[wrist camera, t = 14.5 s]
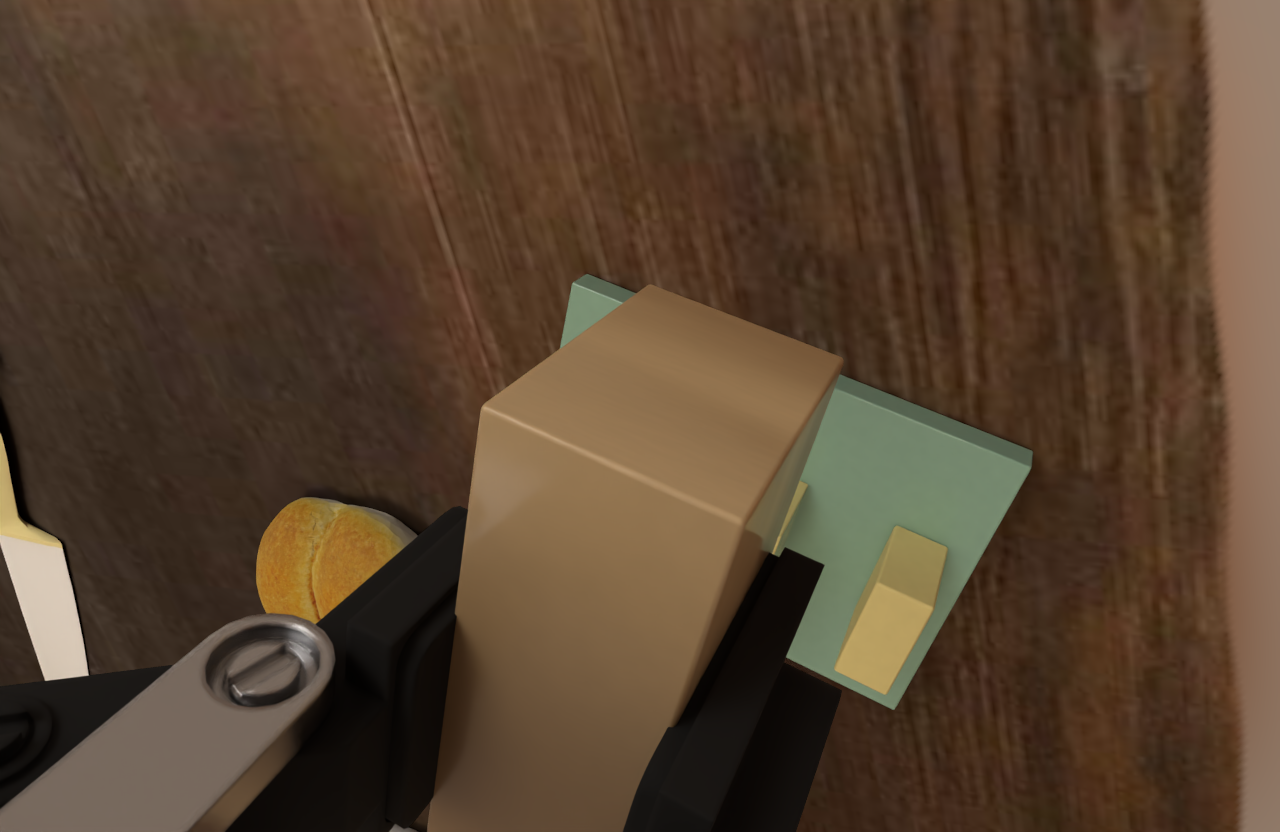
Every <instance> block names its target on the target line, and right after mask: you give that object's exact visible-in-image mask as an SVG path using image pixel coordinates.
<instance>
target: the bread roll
mask: <svg viewBox="0 0 1280 832" xmlns="http://www.w3.org/2000/svg"><path fill="white" fill-rule="evenodd" d="M417 536H418V535H416V534H415V533H414V532H413V531H412V530H411V529H410V528H408V527H407V526H405V525H404V524H403V523H402V522H401V521H399V520H398V519H396V518H395V517H393V516H391V515H389V514H387V513H385V512H381V511H378V510H375V509H372V508H367V507H360V506H356V505H346V504H343V503H341V502H339V501H335V500H330V499H320V498H313V497H306V498H300V499H298V500H296V501H294V502H292V503H290V504H289V505H287V506H286V507H285V508H284V509H283V510H282V511H280V513H279V514H278V515H277V516H276V517H275V519H274V520H273V521H272V523H271V524H270V525H269V527H268V528H267V530H266V531H265V532H264V535H263V537H262V539H261V543H260V546H259V551H258V556H257V569H256V582H257V587H258V592H259V596H260V598H261V601H262V604H263V607H264V609H265V611H266V613H267V614H268V613H276V614H289V615H294V616H297V617H300V618H303V619H306V620H309V621H311V622H312V623H314V624H316V623H317V622H319V621H320V620H321V619H322V618H323V617H324V616H326V615H327V614H328V613H329V612H330V611H331V610H332V609H334V608H335V607H336V606H337V605H338V604H339V603H341V602H342V601H343V600H344V599H345V598H346V597H348V596H349V595H350V594H351V593H352V592H353V591H355V590H356V589H357V588H358V587H359V586H360V585H362V584H363V583H364V582H365V581H366V580H367V579H368V578H370V577H371V576H372V575H373V574H374V573H375V572H377V571H378V570H379V569H380V568H381V567H382V566H384V565H385V564H386V563H387V562H388V561H389V560H391V559H392V558H393V557H394V556H395V555H396V554H398V553H399V552H400V551H401V550H402V549H403V548H404V547H406V546H407V545H408V544H409V543H410V542H411V541H413V540H414V539H415V538H416V537H417Z"/></svg>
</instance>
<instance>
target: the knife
mask: <svg viewBox="0 0 1280 832" xmlns="http://www.w3.org/2000/svg"><path fill="white" fill-rule="evenodd" d="M0 544H1V548H2V551H3V554H4V557H5V560H6V563H7V566H8V569H9V572H10V575H11V578H12V582H13V585H14V588H15V591H16V594H17V597H18V600H19V603H20V607H21V610H22V613H23V616H24V619H25V622H26V625H27V628H28V631H29V634H30V637H31V640H32V643H33V646H34V649H35V652H36V655H37V658H38V661H39V664H40V667H41V670H42V673H43V675H44V678H45V681H48V680H56V679H64V678H72V677H80V676H88V675H89V673H88V667H87V661H86V654H85V648H84V641H83V636H82V631H81V627H80V622H79V617H78V612H77V607H76V602H75V597H74V592H73V588H72V584H71V580H70V576H69V572H68V568H67V564H66V560H65V556H64V552H63V548H62V544H61V542H60V541H59V540H58V539H57V538H56V537H54V536H52V535H50V534H48V533H46V532H44V531H42V530H40V529H39V528H37V527H35V526H33V525H31V524H29V523H27V522H25V521H24V520H23V519H22V518H21V517H20V515H19V514H18V510H17V506H16V501H15V496H14V491H13V486H12V482H11V477H10V471H9V465H8V459H7V455H6V451H5V447H4V442H3V438H2V436H1V433H0Z"/></svg>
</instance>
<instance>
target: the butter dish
mask: <svg viewBox="0 0 1280 832" xmlns="http://www.w3.org/2000/svg"><path fill="white" fill-rule="evenodd" d="M635 294H636V293H634V292H632V291H629V290H627V289H624V288H622V287H619V286H616V285H614V284H611V283H609V282H606V281H604V280H601V279H599V278H596V277H594V276H591V275H589V274H586V275H584V276H582V277H581V278H579V279H578V280H576V281H574V282H573V283H572V287H571V292H570V298H569V303H568V308H567V314H566V319H565V324H564V330H563V335H562V340H561V346H560V348H562V347H563V346H565V345H566V344H567V343H569V342H570V341H571V340H573V339H574V338H576V337H577V336H578V335H580V334H581V333H582V332H584V331H585V330H587V329H588V328H589V327H591V326H592V325H593V324H595V323H596V322H598V321H599V320H600V319H602V318H603V317H604V316H606V315H607V314H609V313H610V312H611V311H613V310H614V309H616V308H617V307H618V306H620V305H621V304H622V303H624V302H625V301H627V300H628V299H629V298H631V297H632V296H633V295H635ZM1032 458H1033V451H1031V450H1029V449H1026V448H1024V447H1021V446H1019V445H1016V444H1014V443H1011V442H1009V441H1006V440H1004V439H1001V438H999V437H996V436H994V435H991V434H989V433H986V432H983V431H981V430H978V429H976V428H973V427H971V426H968V425H966V424H963V423H961V422H958V421H956V420H953V419H951V418H948V417H946V416H943V415H941V414H938V413H936V412H933V411H931V410H928V409H926V408H923V407H921V406H918V405H916V404H913V403H911V402H908V401H906V400H903V399H901V398H898V397H896V396H893V395H890V394H888V393H885V392H883V391H880V390H878V389H875V388H873V387H870V386H868V385H865V384H863V383H860V382H858V381H855V380H853V379H850V378H848V377H845V376H843V375H839V377H838V380H837V383H836V385H835V388H834V391H833V393H832V396H831V399H830V401H829V404H828V407H827V409H826V412H825V415H824V417H823V420H822V423H821V425H820V428H819V430H818V433H817V436H816V438H815V441H814V444H813V446H812V449H811V452H810V454H809V457H808V460H807V462H806V465H805V468H804V470H803V473H802V476H801V478H800V481H799V484H798V486H797V489H796V491H795V494H794V497H793V499H792V502H791V505H790V507H789V510H788V513H787V515H786V518H785V521H784V523H783V526H782V529H781V531H780V534H779V537H778V539H777V542H776V545H775V547H774V550H773V552H772V554H774V555H776V556H778V557H780V555H781V553H782V551H783V549H784V548H785V547H786V548H788V549H791V550H793V551H795V552H797V553H800V554H802V555H804V556H806V557H809V558H811V559H813V560H815V561H817V562H820V563H822V564H824V565H825V566H824V568H823V571H822V573H821V576H820V578H819V580H818V583H817V585H816V587H815V590H814V592H813V594H812V597H811V599H810V602H809V604H808V606H807V609H806V611H805V613H804V616H803V618H802V620H801V623H800V625H799V628H798V630H797V632H796V635H795V637H794V639H793V642H792V644H791V646H790V649H789V651H788V654H787V656H786V658H788V659H790V660H793V661H795V662H797V663H799V664H801V665H803V666H805V667H807V668H809V669H811V670H813V671H815V672H817V673H819V674H821V675H823V676H825V677H827V678H829V679H831V680H833V681H835V682H837V683H839V684H841V685H843V686H845V687H848V688H850V689H852V690H854V691H856V692H858V693H860V694H862V695H864V696H866V697H868V698H870V699H872V700H874V701H876V702H878V703H880V704H882V705H884V706H886V707H888V708H890V709H892V710H895V708H896V706H897V705H898V703H899V701H900V699H901V698H902V696H903V694H904V692H905V691H906V689H907V687H908V685H909V684H910V682H911V680H912V678H913V676H914V675H915V673H916V671H917V669H918V668H919V666H920V664H921V662H922V661H923V659H924V657H925V655H926V654H927V652H928V650H929V648H930V646H931V645H932V643H933V641H934V639H935V638H936V636H937V634H938V632H939V631H940V629H941V627H942V625H943V624H944V622H945V620H946V618H947V616H948V615H949V613H950V611H951V609H952V608H953V606H954V604H955V602H956V601H957V599H958V597H959V595H960V594H961V592H962V590H963V588H964V587H965V585H966V583H967V581H968V579H969V578H970V576H971V574H972V572H973V571H974V569H975V567H976V565H977V564H978V562H979V560H980V558H981V557H982V555H983V553H984V551H985V549H986V548H987V546H988V544H989V542H990V541H991V539H992V537H993V535H994V534H995V532H996V530H997V528H998V527H999V525H1000V523H1001V521H1002V519H1003V518H1004V516H1005V514H1006V512H1007V511H1008V509H1009V507H1010V505H1011V504H1012V502H1013V500H1014V498H1015V497H1016V495H1017V493H1018V491H1019V489H1020V488H1021V486H1022V484H1023V482H1024V481H1025V479H1026V477H1027V475H1028V474H1029V472H1030V470H1031V468H1032ZM895 526H900V527H902V528H904V529H907V530H909V531H911V532H914V533H916V534H918V535H920V536H923V537H925V538H927V539H930V540H932V541H934V542H936V543H939V544H941V545H943V546H946V547H947V548H948V552H947V556H946V561H945V565H944V570H943V574H942V578H941V583H940V587H939V591H938V596H937V600H936V605H935V609H934V611H933V613H932V615H931V617H930V618H929V620H928V622H927V624H926V626H925V627H924V629H923V631H922V633H921V635H920V636H919V638H918V640H917V642H916V644H915V645H914V647H913V649H912V651H911V653H910V654H909V656H908V658H907V660H906V662H905V663H904V665H903V667H902V669H901V671H900V672H899V674H898V676H897V678H896V680H895V681H894V683H893V685H892V687H891V689H890V690H889V692H888V693H887V694H886V695H884V694H882V693H880V692H877V691H875V690H873V689H871V688H869V687H867V686H865V685H863V684H861V683H859V682H857V681H855V680H853V679H851V678H849V677H847V676H845V675H843V674H841V673H839V672H837V671H835V670H834V666H835V663H836V660H837V657H838V655H839V652H840V649H841V646H842V643H843V640H844V638H845V635H846V632H847V629H848V626H849V623H850V621H851V618H852V615H853V612H854V609H855V607H856V605H857V603H858V601H859V599H860V596H861V594H862V592H863V590H864V588H865V586H866V584H867V582H868V580H869V578H870V576H871V574H872V572H873V570H874V568H875V566H876V564H877V562H878V560H879V557H880V555H881V553H882V551H883V549H884V547H885V545H886V543H887V541H888V539H889V537H890V535H891V533H892V531H893V529H894V527H895Z"/></svg>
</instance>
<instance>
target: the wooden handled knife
mask: <svg viewBox="0 0 1280 832" xmlns="http://www.w3.org/2000/svg"><path fill="white" fill-rule="evenodd" d="M843 364H844V360H843V358H841V357H839V356H837V355H834V354H832V353H829V352H826V351H824V350H821V349H818V348H816V347H813V346H811V345H808V344H805V343H803V342H800V341H797V340H795V339H792V338H790V337H787V336H784V335H782V334H779V333H776V332H774V331H771V330H769V329H766V328H763V327H761V326H758V325H756V324H753V323H750V322H748V321H745V320H742V319H740V318H737V317H735V316H732V315H729V314H727V313H724V312H721V311H719V310H716V309H714V308H711V307H708V306H706V305H703V304H700V303H698V302H695V301H693V300H690V299H687V298H685V297H682V296H680V295H677V294H674V293H672V292H669V291H666V290H664V289H661V288H659V287H656V286H653V285H647V286H646V287H644V288H643V289H642V290H640V291H639V292H638V293H636V294H635V295H633V296H632V297H631V298H629V299H628V300H627V301H625V302H624V303H622V304H621V305H620V306H618V307H617V308H616V309H614V310H613V311H611V312H610V313H609V314H607V315H606V316H604V317H603V318H602V319H600V320H599V321H598V322H596V323H595V324H593V325H592V326H591V327H589V328H588V329H587V330H585V331H584V332H582V333H581V334H580V335H578V336H577V337H576V338H574V339H573V340H571V341H570V342H569V343H567V344H566V345H565V346H563V347H562V348H560V349H559V350H558V351H556V352H555V353H554V354H552V355H551V356H549V357H548V358H547V359H545V360H544V361H543V362H541V363H540V364H538V365H537V366H536V367H534V368H533V369H531V370H530V371H529V372H527V373H526V374H525V375H523V376H522V377H520V378H519V379H518V380H516V381H515V382H514V383H512V384H511V385H509V386H508V387H507V388H505V389H504V390H503V391H501V392H500V393H498V394H497V395H496V396H494V397H493V398H492V399H490V400H489V401H487V402H486V403H485V404H484V405H483V406H482V408H481V412H480V420H479V428H478V436H477V443H476V451H475V459H474V467H473V475H472V483H471V490H470V498H469V506H468V514H467V522H466V530H465V537H464V545H463V553H462V561H461V569H460V577H459V584H458V592H457V600H456V608H455V614H456V615H457V618H456V625H455V633H454V641H453V649H452V656H451V664H450V672H449V680H448V687H447V695H446V703H445V711H444V718H443V726H442V734H441V742H440V749H439V757H438V765H437V773H436V780H435V788H434V796H433V798H432V800H431V804H430V812H429V820H428V827H427V832H623V829H624V826H625V823H626V820H627V817H628V814H629V811H630V808H631V805H632V802H633V799H634V796H635V793H636V790H637V788H638V786H639V783H640V781H641V779H642V776H643V774H644V772H645V770H646V768H647V766H648V763H649V761H650V759H651V757H652V756H653V754H654V752H655V750H656V748H657V746H658V744H659V743H660V741H661V739H662V737H663V735H664V733H665V732H666V730H667V728H668V727H672V728H673V727H674V726H676V725H677V723H678V721H679V719H680V717H681V715H682V714H683V712H684V710H685V708H686V706H687V704H688V702H689V701H690V699H691V697H692V695H693V693H694V691H695V689H696V688H697V686H698V684H699V682H700V680H701V678H702V676H703V674H704V673H705V671H706V669H707V667H708V665H709V663H710V661H711V660H712V658H713V656H714V654H715V652H716V650H717V648H718V646H719V645H720V643H721V641H722V639H723V637H724V635H725V633H726V632H727V630H728V628H729V626H730V624H731V622H732V620H733V619H734V617H735V615H736V613H737V611H738V609H739V607H740V605H741V604H742V602H743V600H744V598H745V596H746V594H747V592H748V591H749V589H750V587H751V585H752V583H753V581H754V579H755V577H756V576H757V574H758V572H759V570H760V568H761V566H762V564H763V563H764V561H765V559H766V557H767V555H768V554H769V553H772V552H773V550H774V547H775V545H776V542H777V539H778V537H779V534H780V531H781V529H782V526H783V523H784V521H785V518H786V515H787V513H788V510H789V507H790V505H791V502H792V499H793V497H794V494H795V491H796V489H797V486H798V484H799V481H800V478H801V476H802V473H803V470H804V468H805V465H806V462H807V460H808V457H809V454H810V452H811V449H812V446H813V444H814V441H815V438H816V436H817V433H818V430H819V428H820V425H821V423H822V420H823V417H824V415H825V412H826V409H827V407H828V404H829V401H830V399H831V396H832V393H833V391H834V388H835V385H836V383H837V380H838V377H839V375H840V372H841V369H842V367H843Z"/></svg>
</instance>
